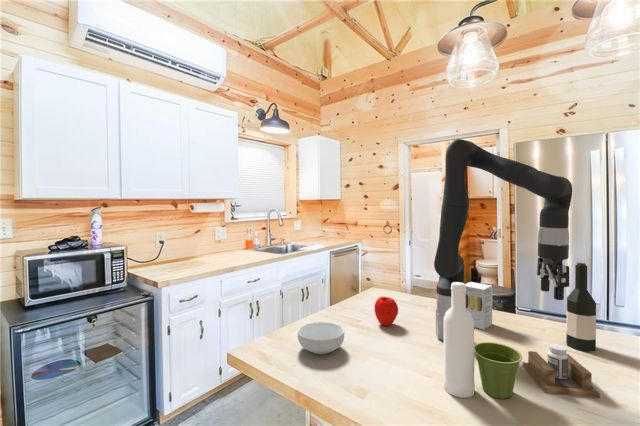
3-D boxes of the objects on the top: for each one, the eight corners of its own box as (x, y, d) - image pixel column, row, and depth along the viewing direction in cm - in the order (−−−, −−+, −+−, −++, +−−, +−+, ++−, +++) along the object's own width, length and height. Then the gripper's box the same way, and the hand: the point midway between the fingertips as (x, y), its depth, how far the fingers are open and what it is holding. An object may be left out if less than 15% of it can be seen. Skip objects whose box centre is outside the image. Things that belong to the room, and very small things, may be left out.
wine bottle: (602, 353, 106) (603, 265, 105) (574, 351, 108) (575, 265, 107) (586, 342, 114) (587, 261, 113) (560, 340, 116) (561, 260, 115)
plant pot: (466, 378, 92) (466, 341, 92) (508, 380, 91) (508, 342, 91) (483, 404, 81) (483, 361, 80) (531, 406, 79) (532, 363, 79)
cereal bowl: (351, 343, 117) (350, 325, 116) (334, 364, 102) (333, 343, 101) (310, 336, 124) (310, 318, 124) (289, 355, 109) (289, 335, 108)
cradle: (544, 392, 85) (544, 372, 85) (522, 365, 99) (522, 348, 99) (599, 397, 82) (599, 377, 82) (569, 369, 96) (569, 352, 96)
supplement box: (461, 323, 133) (460, 285, 133) (469, 318, 140) (469, 281, 139) (484, 330, 126) (484, 289, 126) (493, 324, 133) (493, 285, 132)
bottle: (438, 382, 91) (438, 280, 90) (464, 380, 91) (464, 279, 90) (452, 399, 83) (452, 288, 82) (480, 397, 83) (480, 286, 82)
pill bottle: (563, 372, 92) (564, 344, 92) (570, 380, 88) (571, 351, 87) (544, 369, 94) (545, 342, 93) (550, 377, 89) (551, 349, 89)
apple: (401, 322, 136) (400, 295, 135) (393, 330, 127) (393, 301, 127) (379, 318, 141) (379, 292, 141) (371, 326, 133) (370, 297, 132)
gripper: (529, 239, 102) (527, 287, 102) (550, 245, 88) (548, 301, 89) (555, 239, 100) (553, 289, 101) (581, 246, 86) (579, 303, 87)
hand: (551, 295), depth 95 cm, fingers open, 8 cm apart
